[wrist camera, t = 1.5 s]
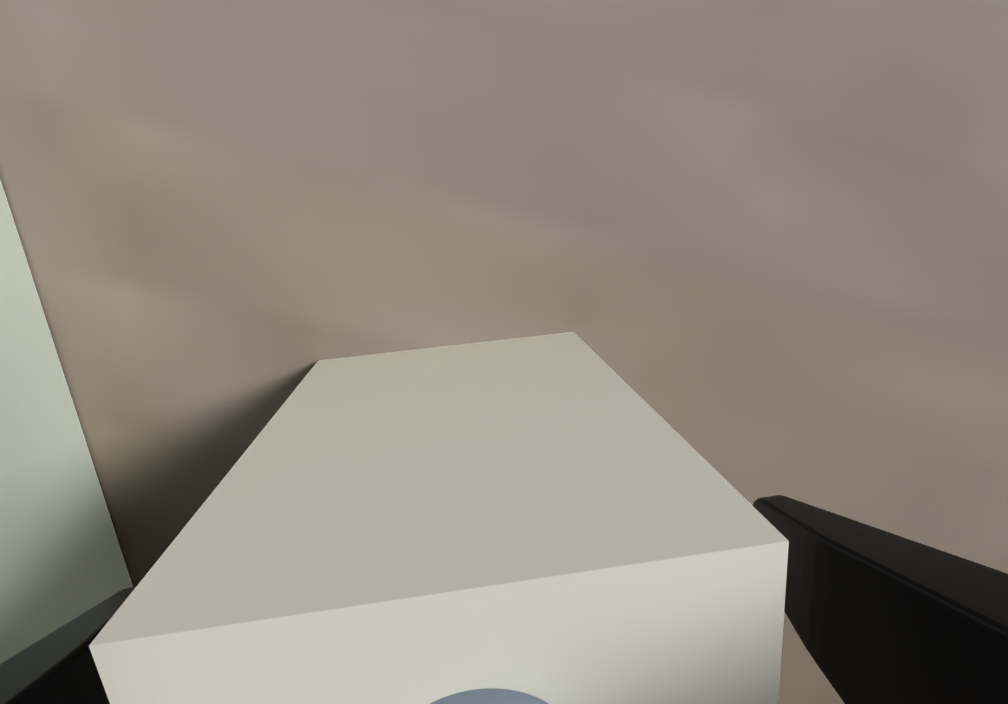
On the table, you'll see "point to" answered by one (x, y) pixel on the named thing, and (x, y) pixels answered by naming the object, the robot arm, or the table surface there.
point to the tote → (44, 475)
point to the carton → (460, 550)
